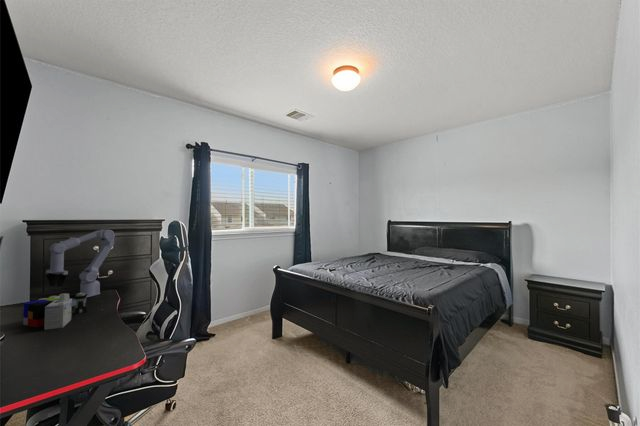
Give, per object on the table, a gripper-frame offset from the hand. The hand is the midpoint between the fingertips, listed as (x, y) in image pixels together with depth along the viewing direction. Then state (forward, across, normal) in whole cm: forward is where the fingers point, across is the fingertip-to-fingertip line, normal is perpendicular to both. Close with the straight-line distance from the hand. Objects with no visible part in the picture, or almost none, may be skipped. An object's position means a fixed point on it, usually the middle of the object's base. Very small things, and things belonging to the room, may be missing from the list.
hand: (56, 286), depth 161 cm
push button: (+10, +32, -10) cm, 35 cm away
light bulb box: (+10, +42, -26) cm, 50 cm away
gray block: (+8, +6, -5) cm, 12 cm away
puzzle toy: (+10, +30, -24) cm, 40 cm away
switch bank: (+9, +10, -5) cm, 14 cm away
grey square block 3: (+8, +7, -10) cm, 14 cm away
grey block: (+8, +6, 0) cm, 10 cm away
